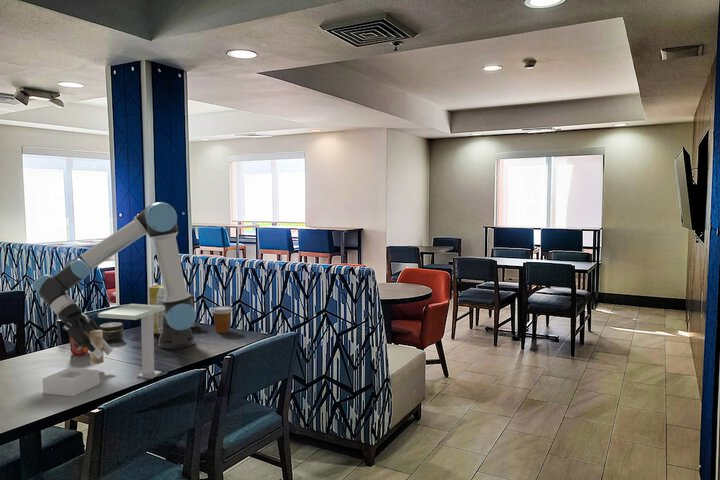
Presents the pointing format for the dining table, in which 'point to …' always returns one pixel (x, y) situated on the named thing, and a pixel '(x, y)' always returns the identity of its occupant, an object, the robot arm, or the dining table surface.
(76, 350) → the smoothie
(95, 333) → the peg
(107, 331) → the jar
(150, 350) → the white pedestal side table
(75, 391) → the socket
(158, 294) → the juice carton
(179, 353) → the dining table surface
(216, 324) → the disposable coffee cup
